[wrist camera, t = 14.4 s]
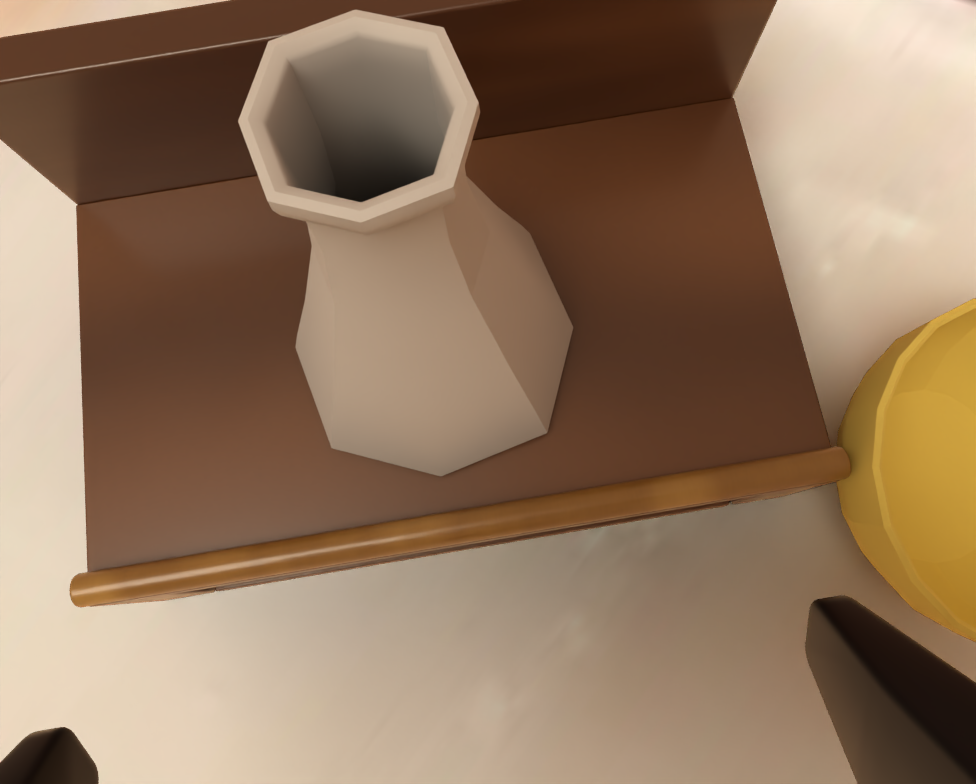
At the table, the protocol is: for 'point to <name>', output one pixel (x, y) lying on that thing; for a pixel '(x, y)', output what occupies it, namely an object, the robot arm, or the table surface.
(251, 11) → the spice rack
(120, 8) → the table surface
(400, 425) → the flask
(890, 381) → the ladle
